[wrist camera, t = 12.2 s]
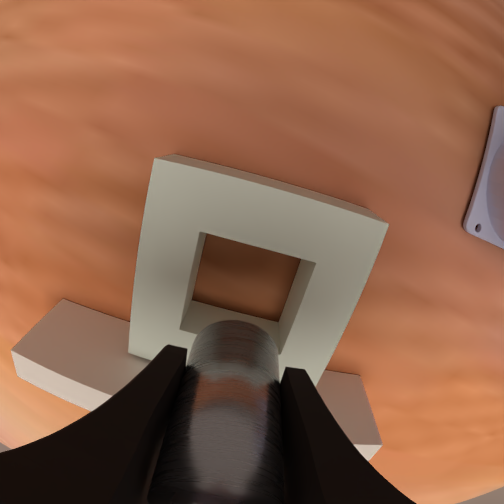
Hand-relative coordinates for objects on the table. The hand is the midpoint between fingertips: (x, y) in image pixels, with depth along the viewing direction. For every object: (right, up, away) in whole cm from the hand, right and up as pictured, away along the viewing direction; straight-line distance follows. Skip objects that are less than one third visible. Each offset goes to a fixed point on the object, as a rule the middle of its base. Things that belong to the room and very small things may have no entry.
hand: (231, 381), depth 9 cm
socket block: (0, +3, +7) cm, 8 cm away
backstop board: (-2, -2, +9) cm, 10 cm away
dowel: (0, 0, +1) cm, 1 cm away
